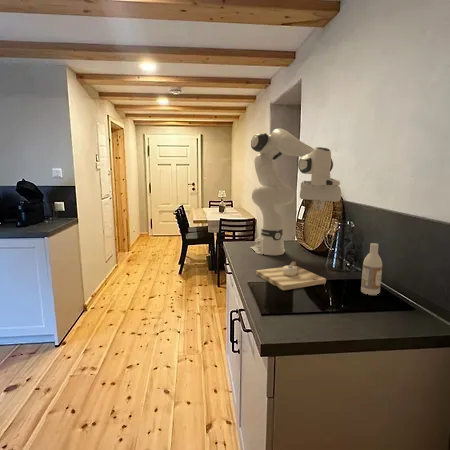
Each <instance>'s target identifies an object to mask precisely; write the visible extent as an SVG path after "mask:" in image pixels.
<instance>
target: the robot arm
mask: <svg viewBox="0 0 450 450" xmlns="http://www.w3.org/2000/svg"><path fill="white" fill-rule="evenodd" d="M250 146H251V147H250V148H251V149H252V150H253V151H255V152H258V153H259V154H257V155H256V156H255V158H254V161H253V162H254V169H255V172H256V177H257V179H258V182H259V184H260V185H261V186H258V187H255V188H254V189H253V190H252V192H251V193H252V194H251V199H252V202H253V203H254V204H255V205H256V206H257V207H258V208H259V210H260V211H261V214H262V228H260V235H259V236H257V237H256V238H255V240H254V246H253V245H252V246H250V248H252V249H253V250H254V251H255V252H254V251H253V250H252V249H251V250H252V251H253V252H254V253H256V254H257V255H263V254H264V255H265V256H281V255H284V253H285V252H286V249H285V243H284V242H285V240H284V237H283V235H284V234H283V233H284V231H283V216H282V214H281V213H280V212H278V211H276V209H275V206H286V205H290V204H293V202H294V200H295V198H296V192H295V190H294V188H292V187H290V186H289V185H287V184H286V183H284V182H283V180H281V179H280V178H279V176H278V174H277V171H276V169H275V166H274V164H273V161H275V160H277V159H278V158H279V157H280V156H281V155H286V156H291V157H300V158H299V160H298V164H297V165H298V166H297V167H298V170H299V172H300V173H301V174H304V175H310V177H311V179H310V180H303V181H302V182H301V183H300V191H299V198H300V199H301V200H307V201H308V200H309V201H311V200H312V201H313V205H314V208H315V210H319V211H321V210H323V207H324V205H325V204H326V202H340V201H341V199H342V191H341V190H342V188H341V187H340V184H341V182H340V180H338V179H335V178H332V177H331V171H332V170H333V167H334V162H333V161H334V160H333V158H332V152H331V149H329V148H327V147H321V146H319V147H318V146H317V147H315V148H313V147H311V146H310V145H308V144H307V143H305V142H303V141H302V140H301V139H298V138H297V137H296V136H294V135H293V134H291V133H290V131H288V130H286V129H284V128H282V127H281V128H280V127H279V128H275V129H273V130H272V132H271V134H267V132H264V133H255V134H254V135H253V136H252V138H251V140H250ZM319 201H320V205H319V204H318V202H319Z"/></svg>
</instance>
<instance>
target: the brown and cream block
mask: <svg viewBox="0 0 450 450" xmlns="http://www.w3.org/2000/svg"><path fill="white" fill-rule="evenodd" d="M296 266H297V262H296V261H291V262H290V264H289V265H284V266H282V267H283V274H284V275H287V276H295V275H297V267H296Z"/></svg>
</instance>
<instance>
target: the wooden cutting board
mask: <svg viewBox="0 0 450 450" xmlns="http://www.w3.org/2000/svg"><path fill="white" fill-rule="evenodd" d="M283 267H284V266H280V267H279V266H278V267H273V268H266V269H265V268H264V269H258V270H255V275H256V276H258V277H259V278H262V279H263V280H265V281H266V282H268V283H269V284H271V285H273V286H275V287H276V286H277V288H279V290H282V291H288V290H293V289H299V288H306V287H311V286H317V285H324V284H325V285H326V282H327V278H325V277H323V276H320V275H318V274H316V273H313V272H311V271H309V270H307V269H304V268H303V267H300V266H297V265H296V267H297V275H295V276H287V275H284V274H283Z"/></svg>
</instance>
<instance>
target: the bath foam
mask: <svg viewBox="0 0 450 450" xmlns="http://www.w3.org/2000/svg"><path fill="white" fill-rule="evenodd" d="M369 245H370V247H369V253H367V255H366V256H365V257H364V259H363V263H362V271H361V272H362V273H361V283H360V284H361V286H360V292H361V293H362V294H365V295H367V294H368V296H378V295H377V294H379V293H380V294H381V287H382V286H381V285H382V284H381V283H382V275H383V274H382V272H383V261H382V258H381V256H380V255H379V243H375V242H371V243H370V244H369ZM380 294H379V295H380Z"/></svg>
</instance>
